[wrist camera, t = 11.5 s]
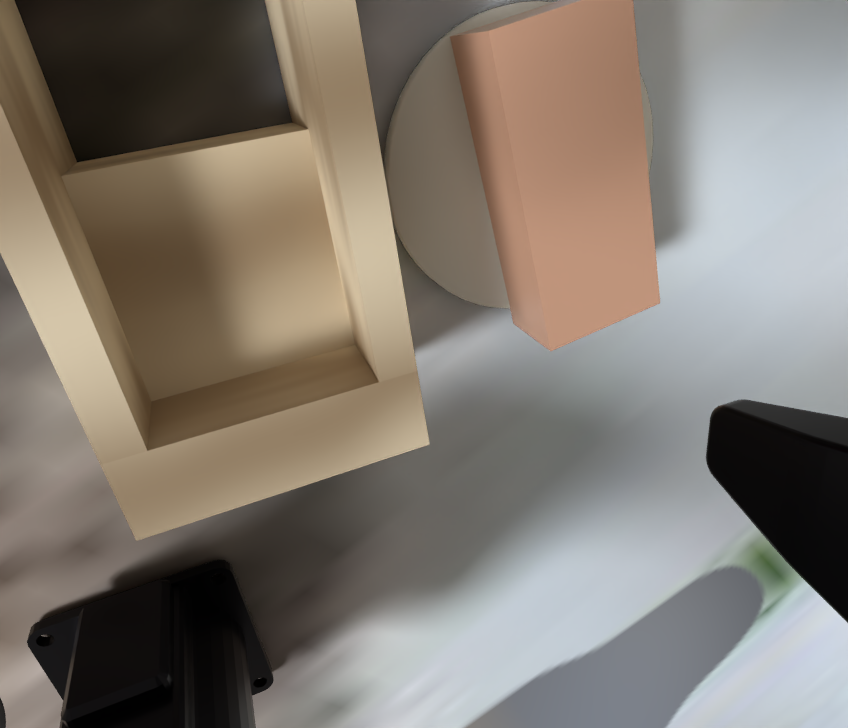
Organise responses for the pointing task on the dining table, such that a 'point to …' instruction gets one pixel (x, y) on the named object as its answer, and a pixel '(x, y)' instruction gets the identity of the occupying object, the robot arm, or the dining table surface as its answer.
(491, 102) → the terracotta block
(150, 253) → the beech pocket board
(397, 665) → the dining table surface
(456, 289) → the felt coaster
